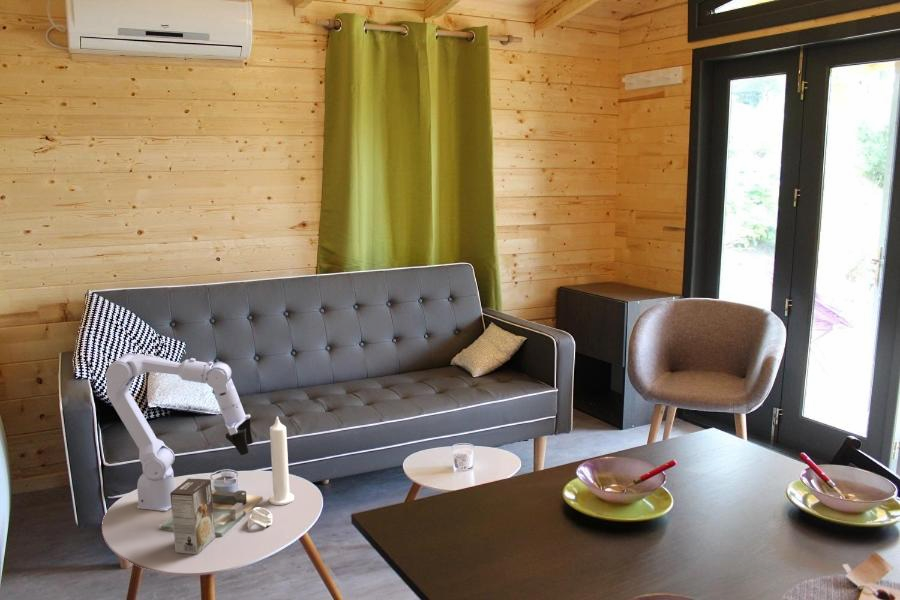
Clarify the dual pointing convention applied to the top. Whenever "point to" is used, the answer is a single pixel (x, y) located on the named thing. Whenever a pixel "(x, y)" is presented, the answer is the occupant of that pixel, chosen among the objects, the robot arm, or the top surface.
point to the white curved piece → (260, 517)
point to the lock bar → (229, 497)
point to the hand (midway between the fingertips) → (247, 448)
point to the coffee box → (192, 515)
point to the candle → (279, 465)
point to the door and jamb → (225, 514)
